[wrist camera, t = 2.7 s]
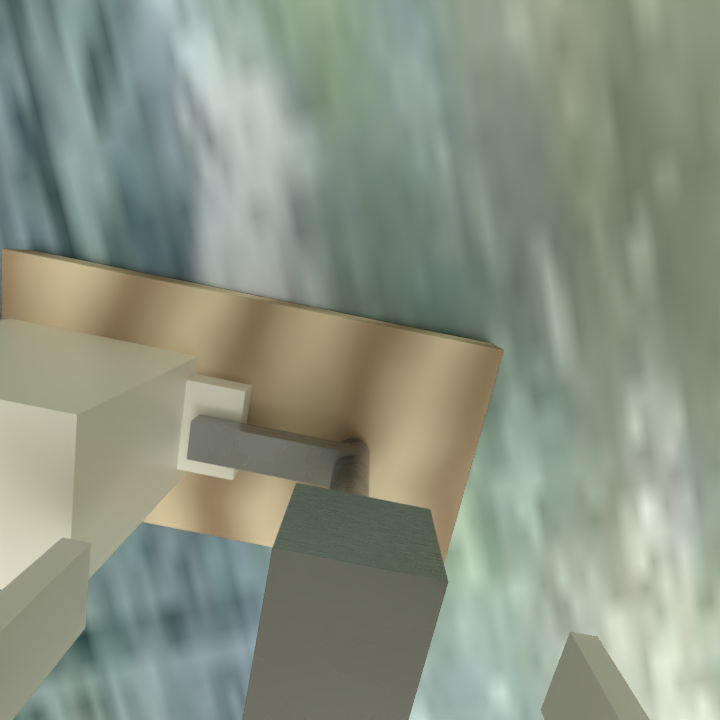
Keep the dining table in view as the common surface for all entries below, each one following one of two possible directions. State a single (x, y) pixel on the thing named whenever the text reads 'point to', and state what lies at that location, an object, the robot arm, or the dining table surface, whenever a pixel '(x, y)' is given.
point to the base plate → (284, 384)
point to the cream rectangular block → (94, 437)
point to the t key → (334, 580)
